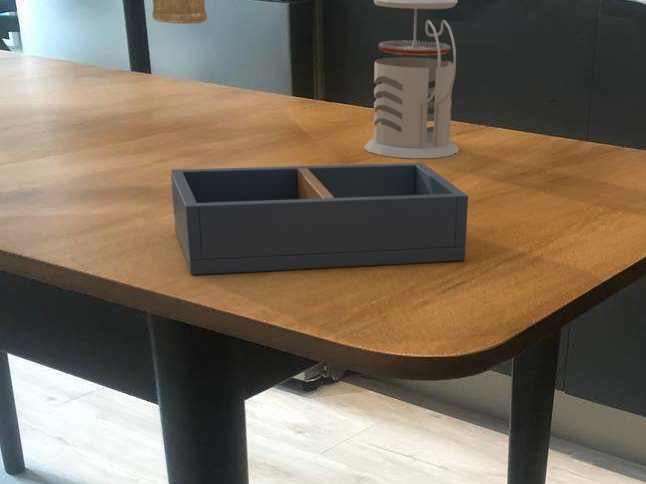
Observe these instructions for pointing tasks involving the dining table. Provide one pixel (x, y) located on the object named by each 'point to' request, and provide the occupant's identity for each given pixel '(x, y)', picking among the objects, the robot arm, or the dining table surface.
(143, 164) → the dining table surface
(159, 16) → the spice jar
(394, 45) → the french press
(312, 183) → the blue-grey divided tray
